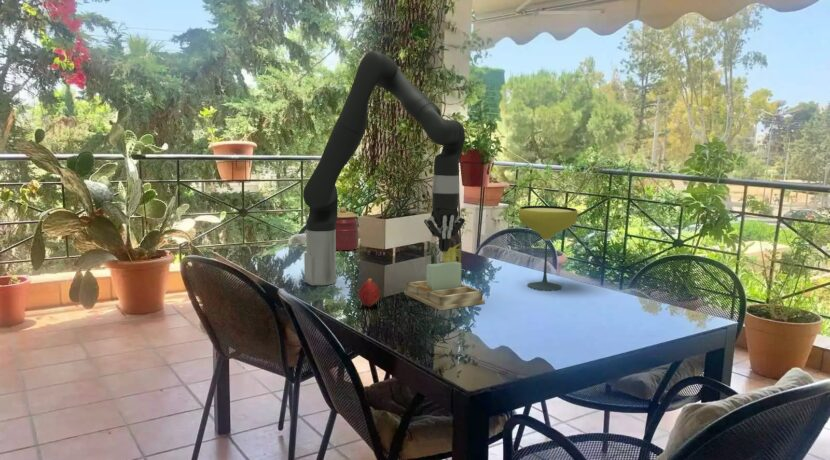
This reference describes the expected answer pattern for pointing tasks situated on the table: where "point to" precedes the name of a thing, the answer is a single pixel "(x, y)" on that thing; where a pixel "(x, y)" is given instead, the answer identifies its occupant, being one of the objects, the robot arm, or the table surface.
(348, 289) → the table surface
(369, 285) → the onion
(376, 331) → the table surface
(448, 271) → the block
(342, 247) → the canister
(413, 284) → the rack
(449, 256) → the sauce bottle
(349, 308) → the table surface
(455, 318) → the table surface
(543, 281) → the cocktail glass
